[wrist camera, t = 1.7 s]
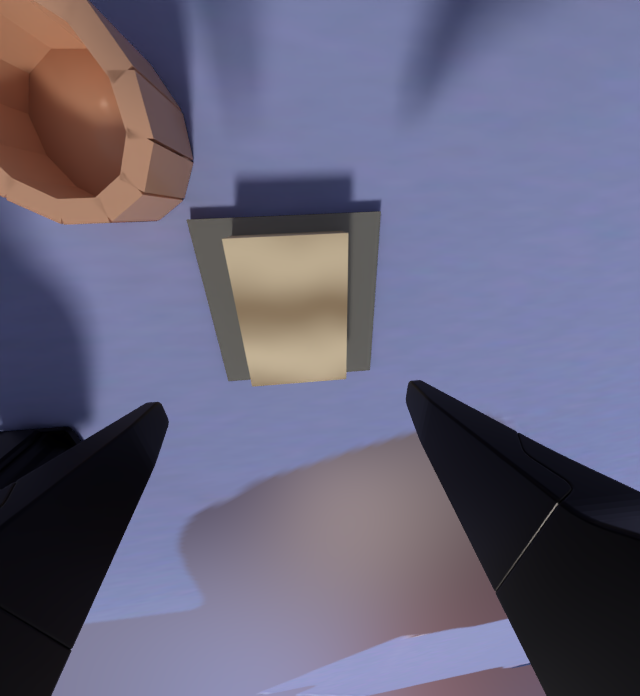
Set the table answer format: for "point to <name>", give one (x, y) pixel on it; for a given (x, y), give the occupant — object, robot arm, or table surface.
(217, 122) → the table surface
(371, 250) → the mat
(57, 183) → the bowl
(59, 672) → the robot arm
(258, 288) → the cover
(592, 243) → the table surface
